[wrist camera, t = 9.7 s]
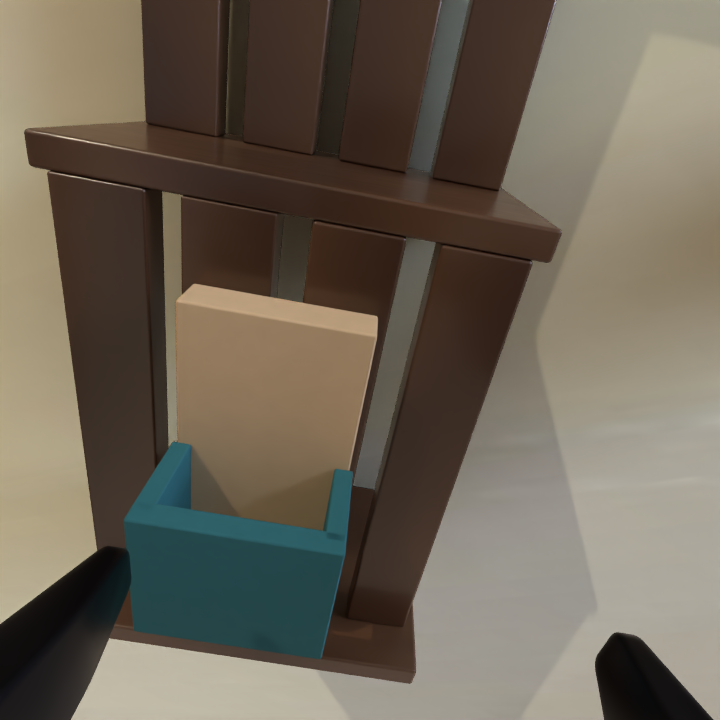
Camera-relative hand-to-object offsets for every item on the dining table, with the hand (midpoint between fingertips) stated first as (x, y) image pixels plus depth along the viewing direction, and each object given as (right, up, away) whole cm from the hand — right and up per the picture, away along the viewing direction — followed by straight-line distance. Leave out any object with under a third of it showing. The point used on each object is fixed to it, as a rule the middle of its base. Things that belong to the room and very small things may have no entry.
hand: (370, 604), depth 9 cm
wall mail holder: (-3, +2, +5) cm, 6 cm away
